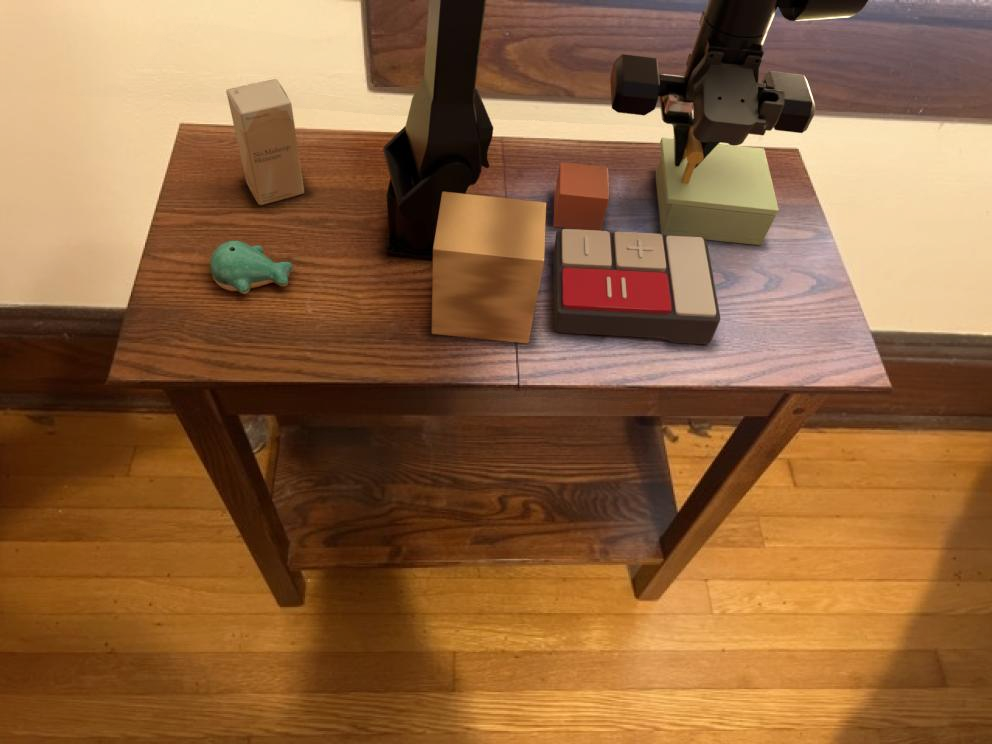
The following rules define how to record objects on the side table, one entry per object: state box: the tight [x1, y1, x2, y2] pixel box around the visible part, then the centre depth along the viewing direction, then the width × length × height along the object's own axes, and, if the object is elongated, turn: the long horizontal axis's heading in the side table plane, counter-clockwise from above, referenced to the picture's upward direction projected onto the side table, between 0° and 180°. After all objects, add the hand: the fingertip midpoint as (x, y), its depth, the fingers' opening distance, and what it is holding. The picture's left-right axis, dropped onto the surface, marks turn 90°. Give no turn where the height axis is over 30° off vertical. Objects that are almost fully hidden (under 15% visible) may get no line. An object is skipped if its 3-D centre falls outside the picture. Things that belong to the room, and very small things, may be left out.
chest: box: [655, 155, 777, 246], centre depth 79 cm, size 11×10×4 cm
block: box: [553, 161, 610, 231], centre depth 77 cm, size 5×5×4 cm
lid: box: [659, 126, 780, 216], centre depth 76 cm, size 11×10×5 cm
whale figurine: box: [209, 240, 294, 295], centre depth 68 cm, size 6×7×4 cm
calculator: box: [553, 228, 721, 345], centre depth 71 cm, size 11×4×15 cm
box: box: [225, 78, 305, 206], centre depth 73 cm, size 5×4×11 cm
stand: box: [431, 192, 547, 344], centre depth 65 cm, size 9×7×11 cm
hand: (684, 164), depth 77 cm, fingers closed
